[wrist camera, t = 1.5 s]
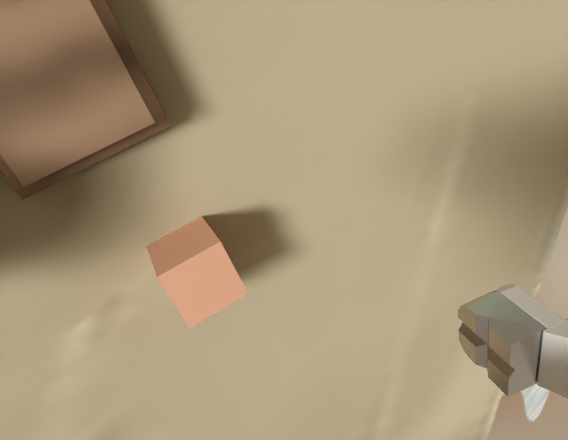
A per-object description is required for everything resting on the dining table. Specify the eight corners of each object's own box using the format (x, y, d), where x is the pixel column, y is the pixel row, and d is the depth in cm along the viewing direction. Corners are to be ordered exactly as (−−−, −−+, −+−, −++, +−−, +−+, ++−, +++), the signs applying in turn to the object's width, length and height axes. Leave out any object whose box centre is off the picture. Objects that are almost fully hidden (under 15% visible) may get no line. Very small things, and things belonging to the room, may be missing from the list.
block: (226, 262, 40) (248, 293, 35) (175, 292, 39) (189, 328, 34) (201, 216, 38) (220, 241, 32) (146, 246, 37) (156, 277, 31)
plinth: (166, 122, 34) (175, 129, 31) (25, 191, 32) (18, 208, 28) (84, -34, 29) (84, -47, 26) (-89, 35, 27) (-115, 31, 23)
